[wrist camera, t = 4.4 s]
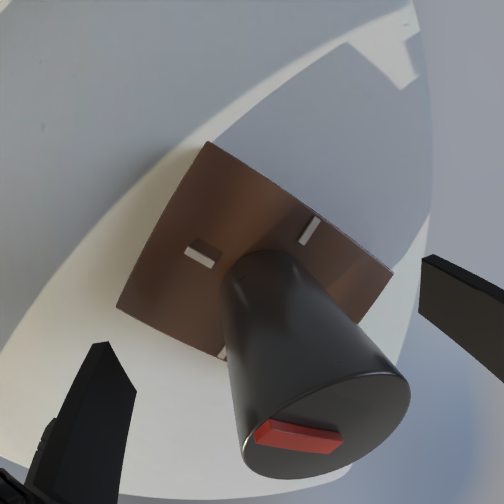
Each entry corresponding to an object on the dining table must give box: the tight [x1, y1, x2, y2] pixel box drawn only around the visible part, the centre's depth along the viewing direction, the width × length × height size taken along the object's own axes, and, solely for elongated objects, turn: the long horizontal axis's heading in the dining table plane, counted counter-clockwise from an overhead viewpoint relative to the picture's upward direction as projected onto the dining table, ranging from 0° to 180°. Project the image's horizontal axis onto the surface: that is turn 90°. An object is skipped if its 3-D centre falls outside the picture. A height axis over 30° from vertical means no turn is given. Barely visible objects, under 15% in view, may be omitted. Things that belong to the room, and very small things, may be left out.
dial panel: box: [116, 141, 394, 362], centre depth 15 cm, size 12×9×3 cm
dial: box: [220, 250, 411, 480], centre depth 9 cm, size 4×4×9 cm
